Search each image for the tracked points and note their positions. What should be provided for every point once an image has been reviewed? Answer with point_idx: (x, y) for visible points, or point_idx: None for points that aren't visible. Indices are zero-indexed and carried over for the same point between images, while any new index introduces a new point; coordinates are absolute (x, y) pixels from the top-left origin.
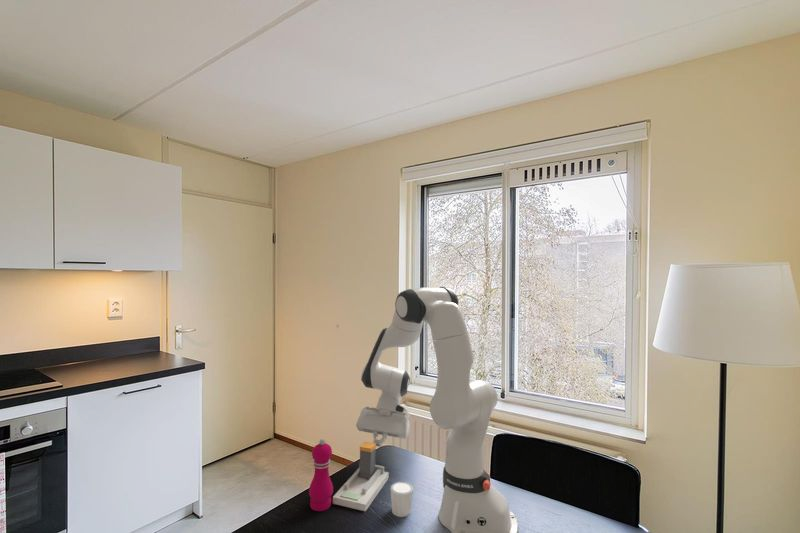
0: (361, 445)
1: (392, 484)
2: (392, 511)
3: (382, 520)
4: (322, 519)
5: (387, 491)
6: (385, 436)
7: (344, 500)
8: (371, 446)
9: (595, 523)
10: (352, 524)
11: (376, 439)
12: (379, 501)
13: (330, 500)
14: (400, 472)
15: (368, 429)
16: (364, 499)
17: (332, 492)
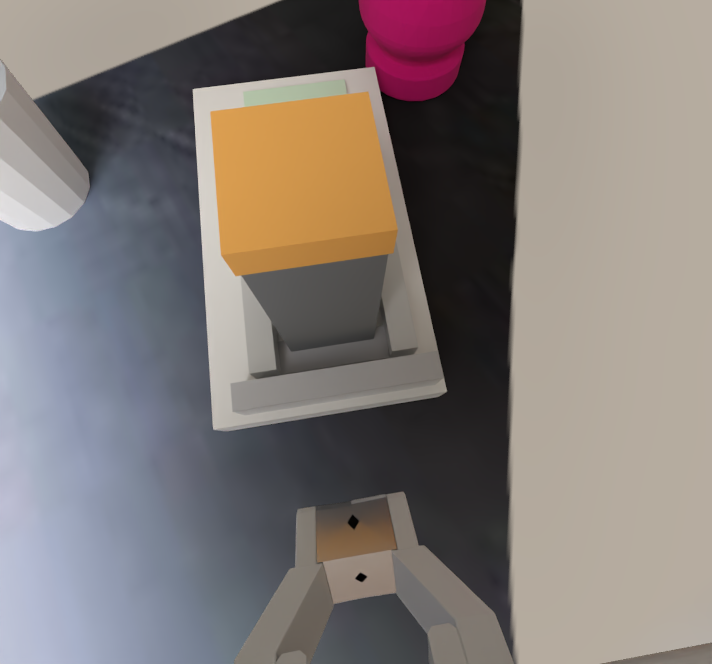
0: (368, 123)
1: (2, 98)
2: (76, 156)
3: (106, 103)
4: (340, 11)
5: (173, 298)
6: (240, 658)
7: (309, 77)
8: (236, 158)
9: None
10: (214, 36)
11: (406, 592)
12: (176, 203)
13: (370, 54)
14: (179, 555)
15: (644, 656)
16: None
17: (362, 14)
